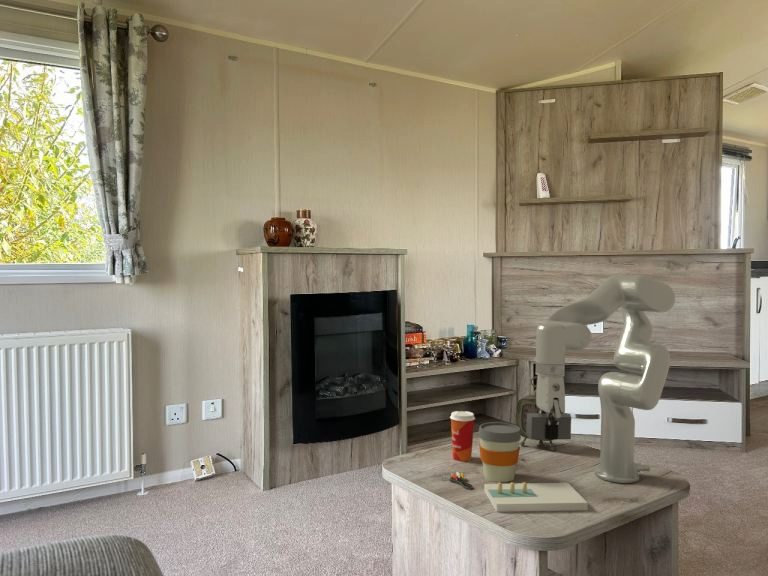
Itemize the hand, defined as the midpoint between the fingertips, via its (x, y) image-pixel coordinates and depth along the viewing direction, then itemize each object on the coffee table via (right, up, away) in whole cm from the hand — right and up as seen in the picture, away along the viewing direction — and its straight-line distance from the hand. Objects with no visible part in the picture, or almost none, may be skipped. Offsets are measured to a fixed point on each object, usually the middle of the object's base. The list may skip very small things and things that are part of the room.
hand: (548, 435), depth 158 cm
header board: (-4, -18, +1) cm, 18 cm away
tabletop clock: (+11, -16, +49) cm, 52 cm away
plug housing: (0, 0, 0) cm, 0 cm away
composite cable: (-22, -18, +13) cm, 31 cm away
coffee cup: (-19, -17, +35) cm, 43 cm away
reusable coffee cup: (-10, -17, +18) cm, 27 cm away
